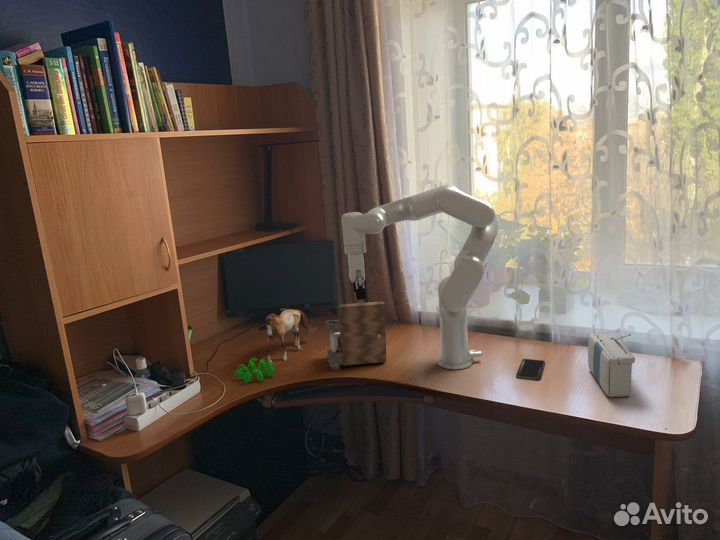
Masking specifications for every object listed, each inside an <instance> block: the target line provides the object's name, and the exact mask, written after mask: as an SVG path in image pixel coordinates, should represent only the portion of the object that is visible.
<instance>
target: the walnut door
mask: <svg viewBox="0 0 720 540" xmlns="http://www.w3.org/2000/svg"><path fill="white" fill-rule="evenodd" d="M338 314H339V315H338V317H339V319H331V320H325V330H326V334H330V333H338V332H340V336H341V348H338V349H336V353H331V348H328V349H327V361H328V363H330V362H340V361H342V364H341V365H342V366H351V365H352V366H353V365H361V364H363V365H364V364H376V363H386V362H387V343H386V342H387V340H386V338H387V337H386V336H387V335H386V334H387V333H386V316H385V315H386V309H385V302H384V301H373V302H372V301H371V302H358V303H345V304H344V303H343V304H338ZM330 323H334V324H330Z"/></svg>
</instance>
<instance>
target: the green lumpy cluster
mask: <svg viewBox="0 0 720 540" xmlns="http://www.w3.org/2000/svg"><path fill="white" fill-rule="evenodd" d="M256 361H258V358H257V357H252V358H250V360H248V364H247V366H246V365H244V364H239V365H238V366H237V367H236V371H235V373H234V378H235V379H236V381H238V380H239V381H241V380H242V381H243V380H244V383H245V384H247V385H248V384H249V383H251V382H252V379H253V376H252V375H253V374H256V379H257V382H260V383H263V381H264V376H265V377H266V378H273V377H274V376H275V370H276V364H275V363H274V362H273V361H272V362H268V361H267V362H266V360H265V359H263V358H262V359H260V361H259V362H258V363H259V364H258V368H257V367H256ZM271 363H272V364H271ZM273 365H274V367H273ZM236 375H237V376H236Z"/></svg>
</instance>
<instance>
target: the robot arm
mask: <svg viewBox="0 0 720 540" xmlns="http://www.w3.org/2000/svg"><path fill="white" fill-rule="evenodd" d="M442 213H444V214H446V215H449V216H450V217H451V218H455V219H456V220H459V221H461V222H463V223H465V224H468V225H469V226H471V230H470V232H469V235H468V236H467V238H466V240H465V242H464V244H463V246H462V247H461V249H460V251H459V253H458V254H457V256H456V257H455V259H454V262H453V267H454V269H453V271H452V272H451V273H450V275H449V276H446V277H444V278H443V279H441V281H440V283H439V284H438V288H437V296H438V309H439V311H438V312H439V336H440V337H439V339H440V340H439V342H440V356H438V357H437V358H436V363H437V365H438V366H439V367H440V368H443V369H447V370H462V369H463V370H464V369H467V368H469V367H470V366H472V364H473V363H474V358H478V357H479V358H480V357H482V351H481V350H476V349H471V350H470V349H469V344H468V343H469V341H468V339H469V338H468V307H467V306H468V304H469V302H470V300H471V299H472V297H473V295H474V294H475V292H476V290H477V289H478V286H479V285H480V283H481V282H482V279H483V277H484V273H485V265H484V261H485V260H486V258H487V256H488V255H489V252H490V251H491V249H492V247H493V245H494V243H495V240H496V238H497V234H498V229H499V227H498V225H499V224H498V217H497V214H496V211H495V208H494V207H493V205H492V204H491V203H490V202H489V200H488V199H486V198H484V197H474V196H472V195H469V194H467V193H465V192H464V191H461V190H460V189H459V188H458V187H457V186H455V185H453V184H449V183H448V184H443V185H440V186H437V187H435V188H434V187H433V188H431V189H428V190H426V191H422V192H420V193H419V192H418V193H416V194H413V195H410V196H407V197H403V198H401V199H398V200H394V201H391V202H388V203H385V204H382V205H378V206H376V207H373V208H371V209H369V210H368V211H367V212H366V213H361V212H359V211H353V212H346V213H343V214H342V215H341V217H340V218H341V226H342V228H341V229H342V238H343V247H344V248H343V249H344V254H345V255H347V263H348V264H347V265H348V277H349V280H350V282H351V283H352V286H353V292H354V293H355V295H356V298H355V299H356V300H357V301H360V300H361V301H362V300H366V299H367V296H366V294H367V293H366V287H365V283H364V282H365V280H366V270H365V259H364V253H365V254H366V253H367V243H366V234H367V235H369V234H370V235H377V234H381V232H383V230H384V228H385V227H387V226H390V225H393V224H396V223H401V222H404V221H406V222H407V221H414V222H415V221H416V222H417V221H421V220H423V219H427V218H430V217H432V216H436V215H438V214H442Z"/></svg>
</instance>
